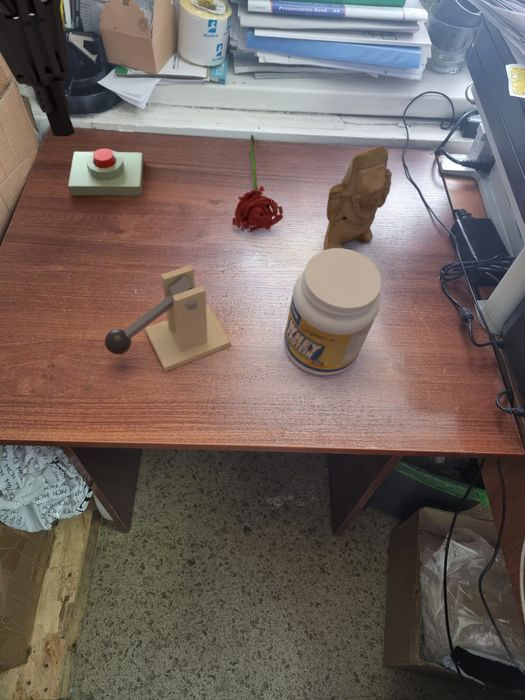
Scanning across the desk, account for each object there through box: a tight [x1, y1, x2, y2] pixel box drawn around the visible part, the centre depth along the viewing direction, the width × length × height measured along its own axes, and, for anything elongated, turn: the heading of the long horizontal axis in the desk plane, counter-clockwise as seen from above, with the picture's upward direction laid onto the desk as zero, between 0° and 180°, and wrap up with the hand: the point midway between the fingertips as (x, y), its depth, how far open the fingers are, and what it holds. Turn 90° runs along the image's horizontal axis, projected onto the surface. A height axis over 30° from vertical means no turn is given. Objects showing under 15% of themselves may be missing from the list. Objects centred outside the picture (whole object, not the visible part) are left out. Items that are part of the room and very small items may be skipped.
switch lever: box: [104, 276, 197, 355], centre depth 70 cm, size 15×4×4 cm, turn 118°
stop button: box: [93, 147, 115, 168], centre depth 94 cm, size 4×4×2 cm
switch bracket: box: [144, 264, 232, 373], centre depth 74 cm, size 11×8×14 cm
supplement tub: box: [283, 247, 382, 376], centre depth 74 cm, size 12×12×17 cm
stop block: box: [67, 149, 144, 197], centre depth 96 cm, size 13×10×4 cm
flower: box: [231, 134, 284, 233], centre depth 99 cm, size 9×10×30 cm
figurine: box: [323, 145, 393, 250], centre depth 85 cm, size 13×7×20 cm, turn 118°
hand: (64, 134), depth 72 cm, fingers closed
